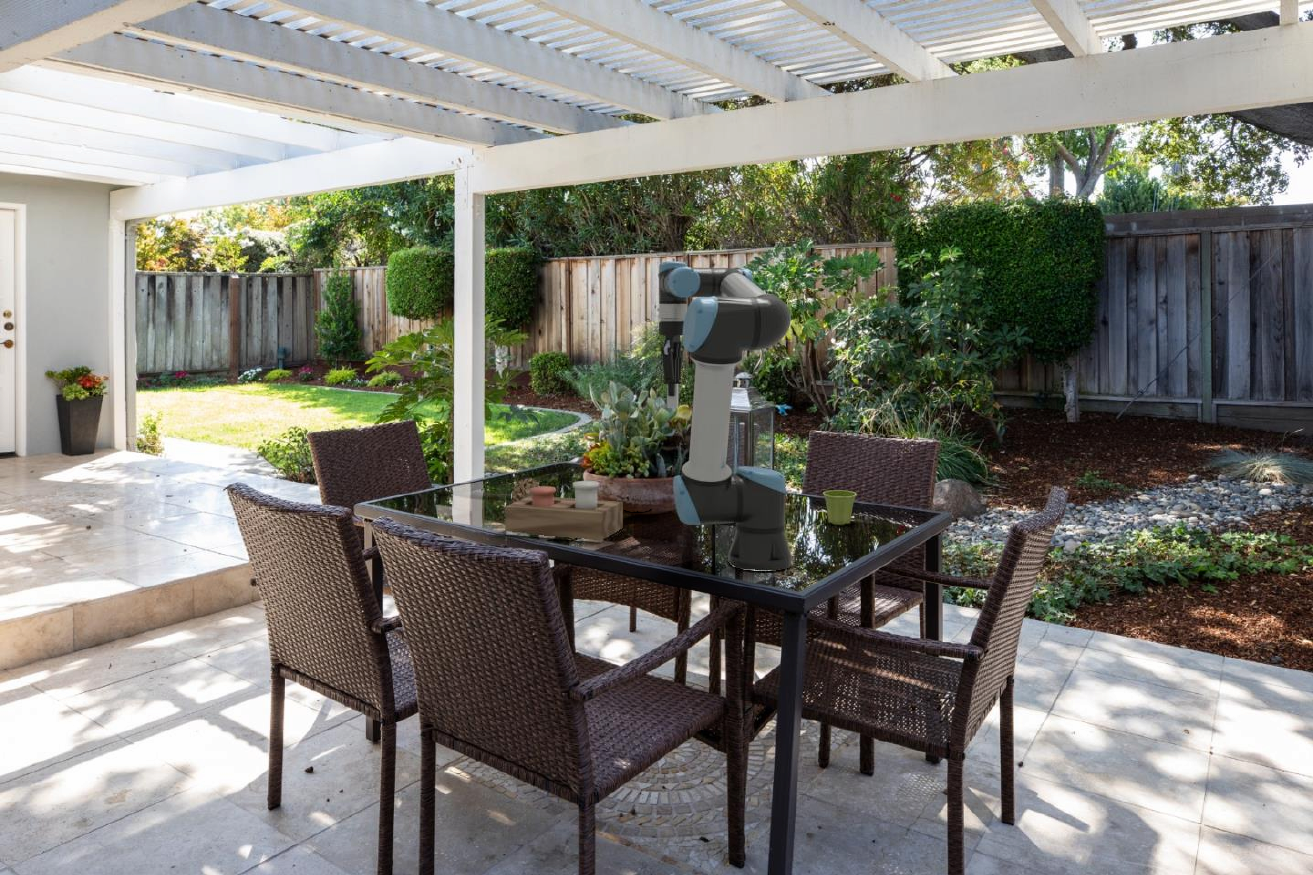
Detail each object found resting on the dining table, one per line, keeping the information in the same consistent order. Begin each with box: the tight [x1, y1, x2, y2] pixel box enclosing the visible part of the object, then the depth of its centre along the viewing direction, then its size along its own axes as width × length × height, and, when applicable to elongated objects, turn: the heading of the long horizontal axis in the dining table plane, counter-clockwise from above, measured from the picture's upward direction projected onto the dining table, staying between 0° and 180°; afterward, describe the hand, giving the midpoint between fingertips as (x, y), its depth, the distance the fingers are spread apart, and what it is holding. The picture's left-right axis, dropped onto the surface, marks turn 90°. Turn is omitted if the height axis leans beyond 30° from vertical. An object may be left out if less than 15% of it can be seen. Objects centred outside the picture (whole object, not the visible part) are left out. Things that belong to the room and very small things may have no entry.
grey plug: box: [572, 480, 600, 509], centre depth 251 cm, size 7×7×11 cm
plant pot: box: [822, 489, 857, 526], centre depth 265 cm, size 9×9×9 cm
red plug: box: [530, 485, 557, 506], centre depth 255 cm, size 7×7×11 cm
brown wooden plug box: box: [504, 496, 624, 540], centre depth 253 cm, size 16×28×8 cm, turn 71°
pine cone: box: [511, 477, 541, 503], centre depth 278 cm, size 22×10×10 cm, turn 8°
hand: (672, 408), depth 250 cm, fingers closed
